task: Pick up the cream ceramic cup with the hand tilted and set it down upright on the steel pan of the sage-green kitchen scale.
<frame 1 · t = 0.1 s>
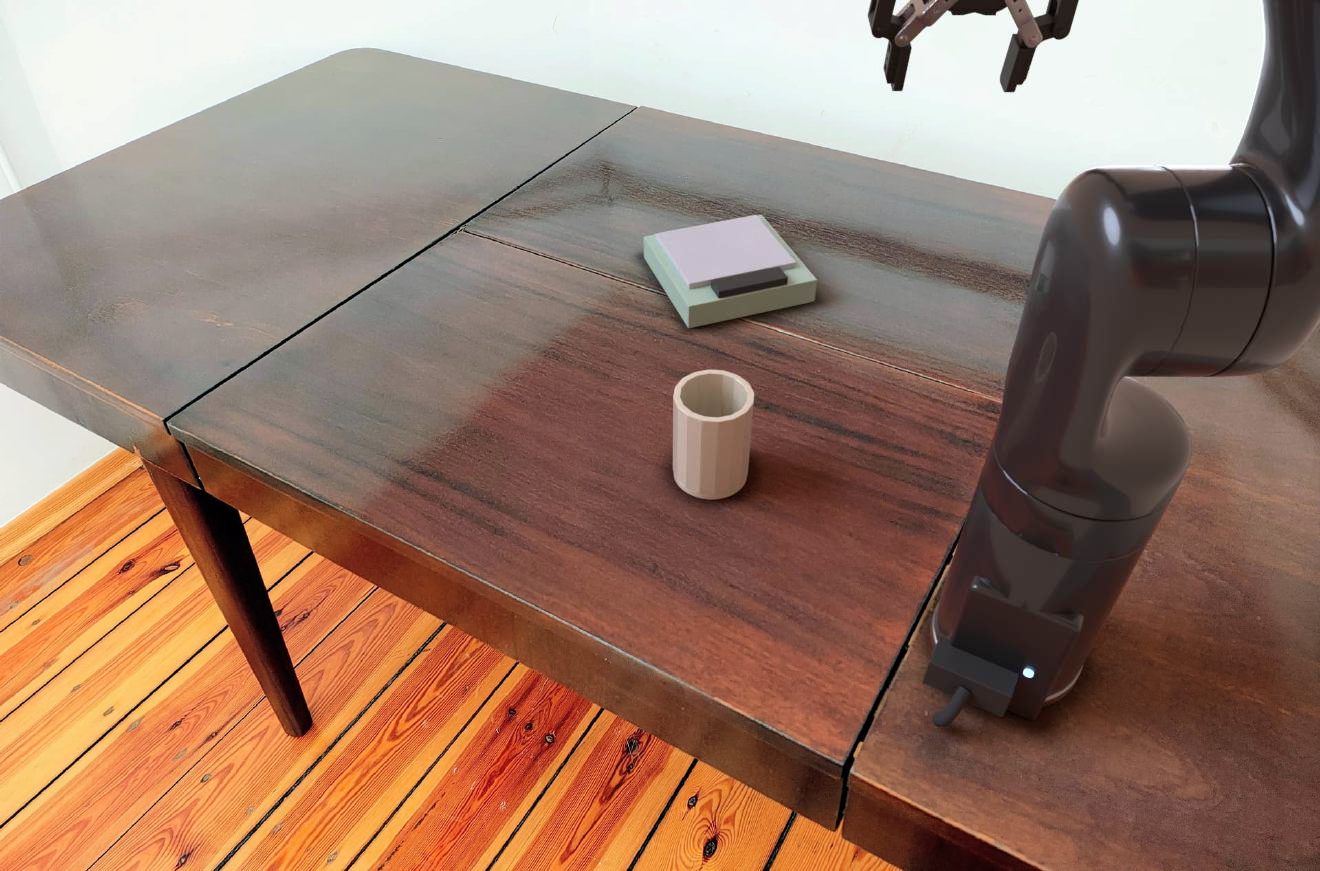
hand: (951, 86, 72), 22 cm above the table, tool pointing down, fingers open, 8 cm apart
scale: (726, 279, 93), on the table
cup: (710, 472, 73), on the table
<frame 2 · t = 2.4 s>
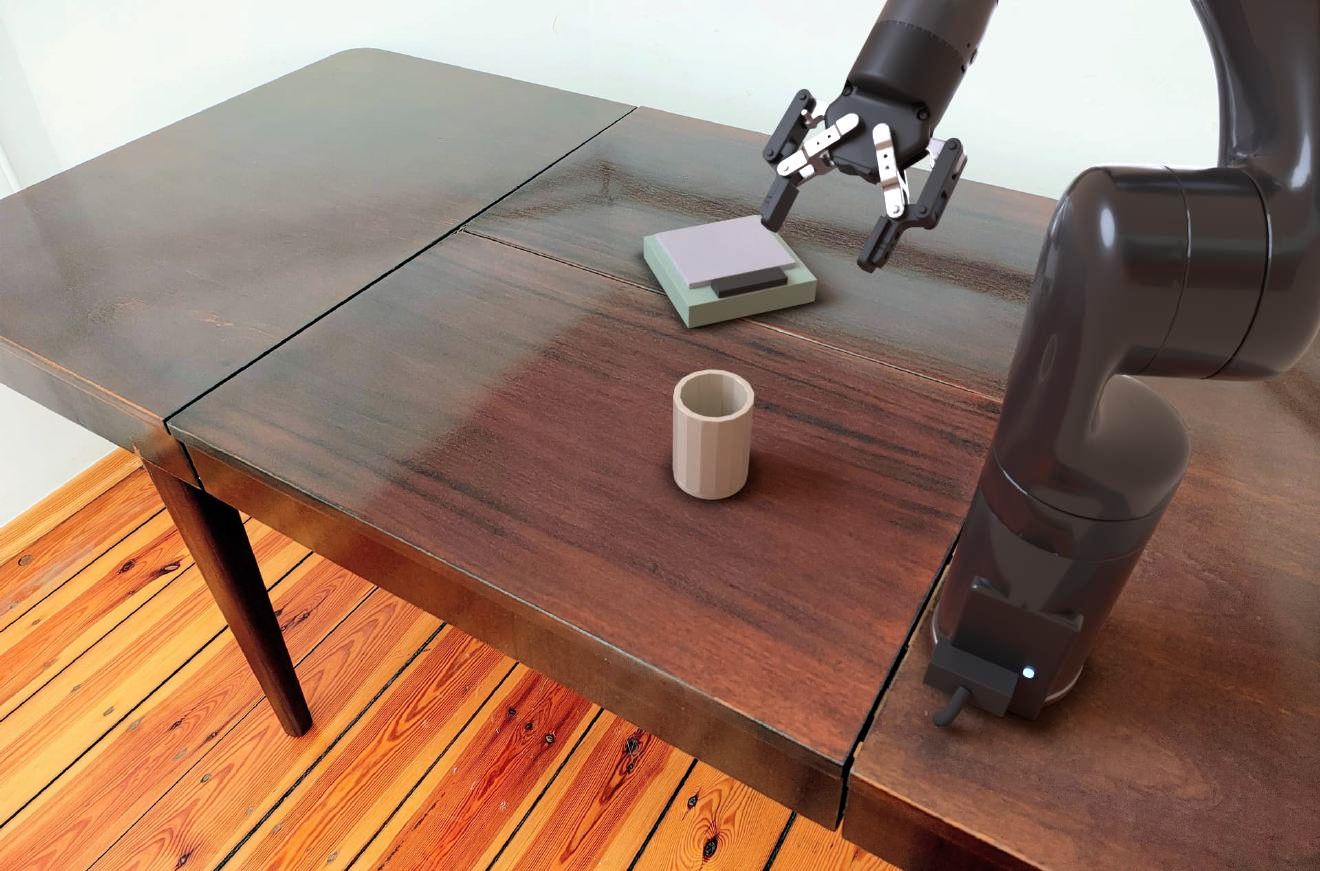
hand: (814, 248, 69), 15 cm above the table, tool tilted 45°, fingers open, 8 cm apart
nothing on the table moved.
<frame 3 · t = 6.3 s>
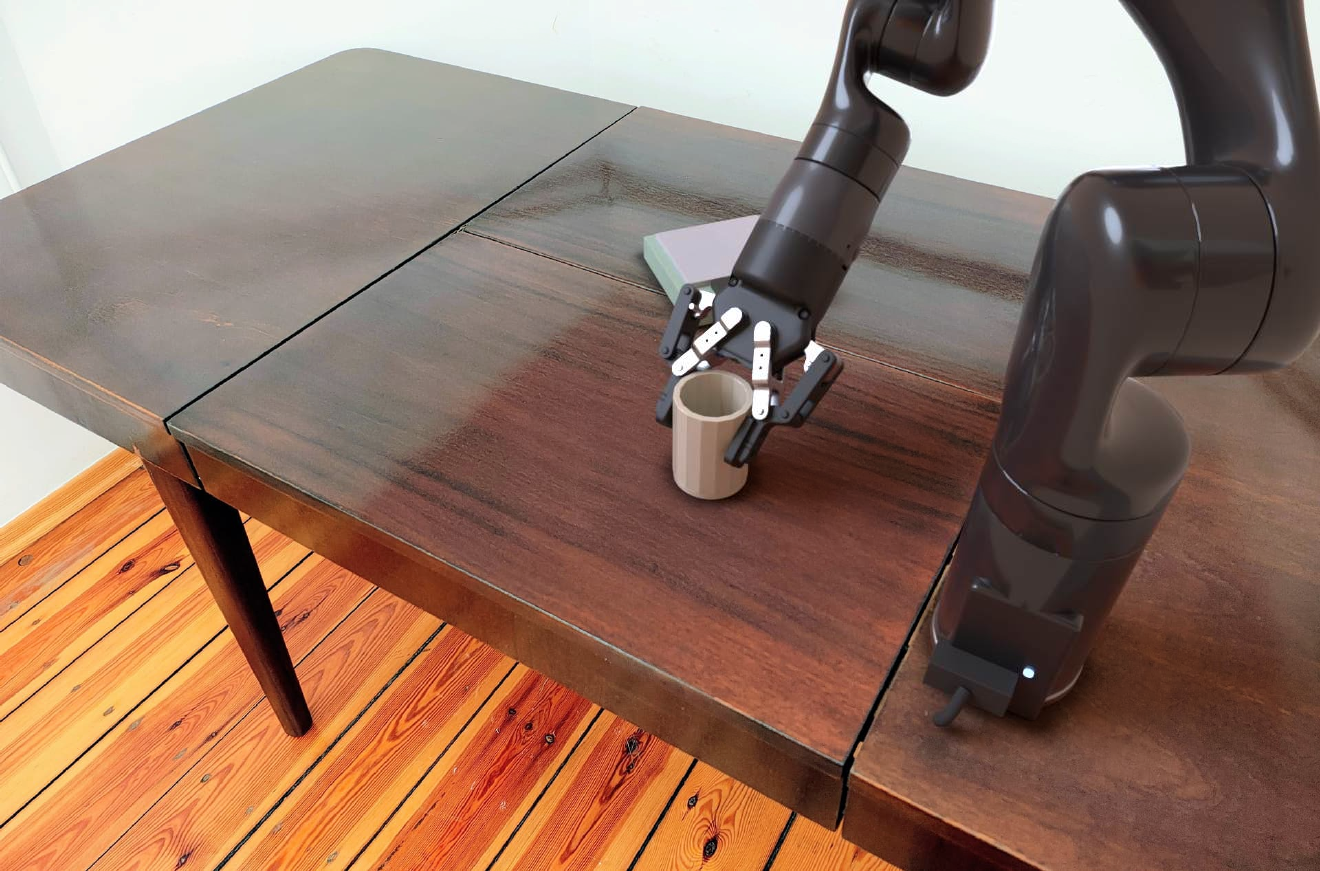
hand: (697, 444, 69), 4 cm above the table, tool tilted 45°, fingers closed on cup, 6 cm apart
cup: (710, 472, 73), on the table, touching gripper
everything else where it was.
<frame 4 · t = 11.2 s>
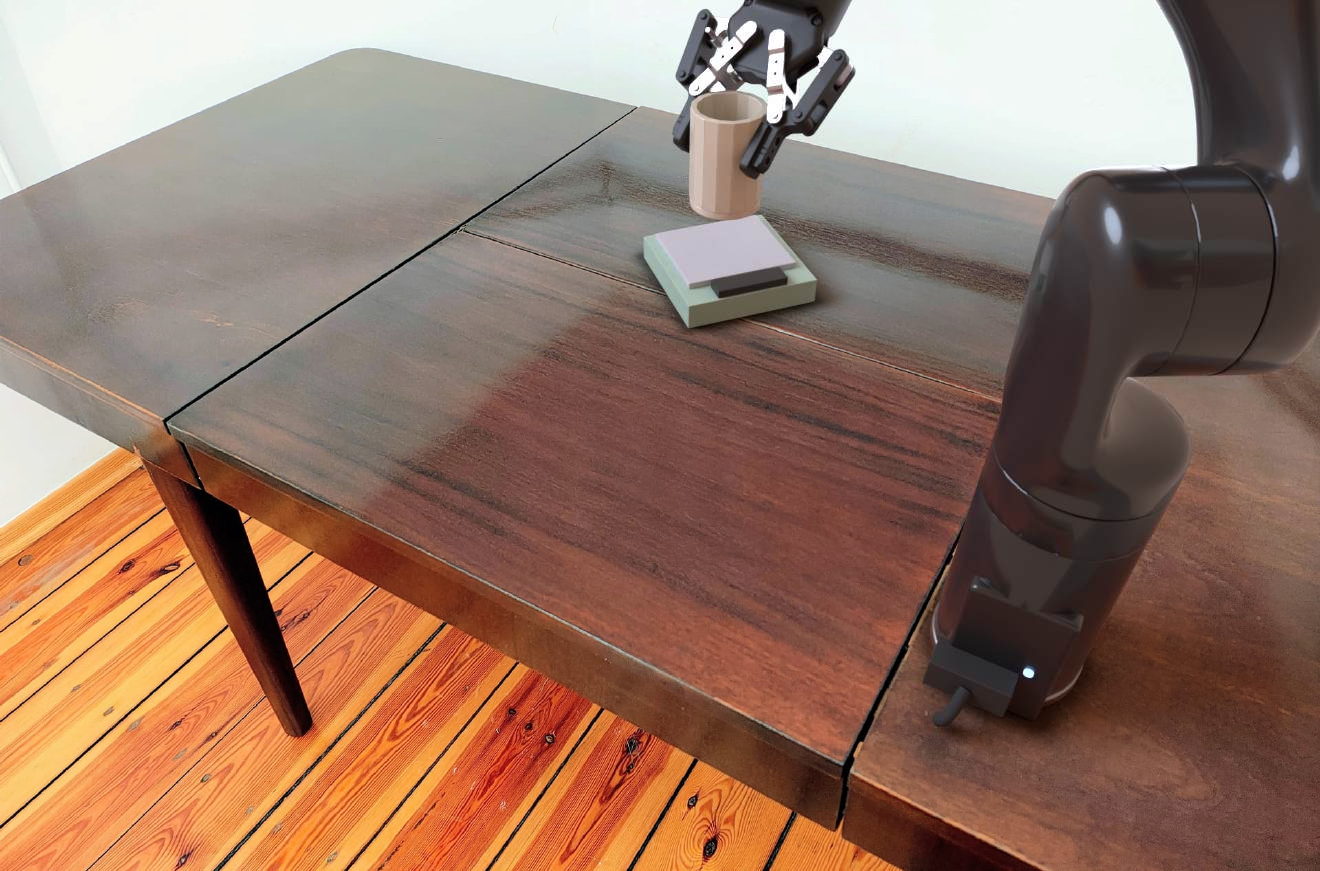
hand: (713, 160, 72), 18 cm above the table, tool tilted 45°, fingers closed on cup, 6 cm apart
cup: (725, 202, 75), point 14 cm above the table, touching gripper
everything else where it was.
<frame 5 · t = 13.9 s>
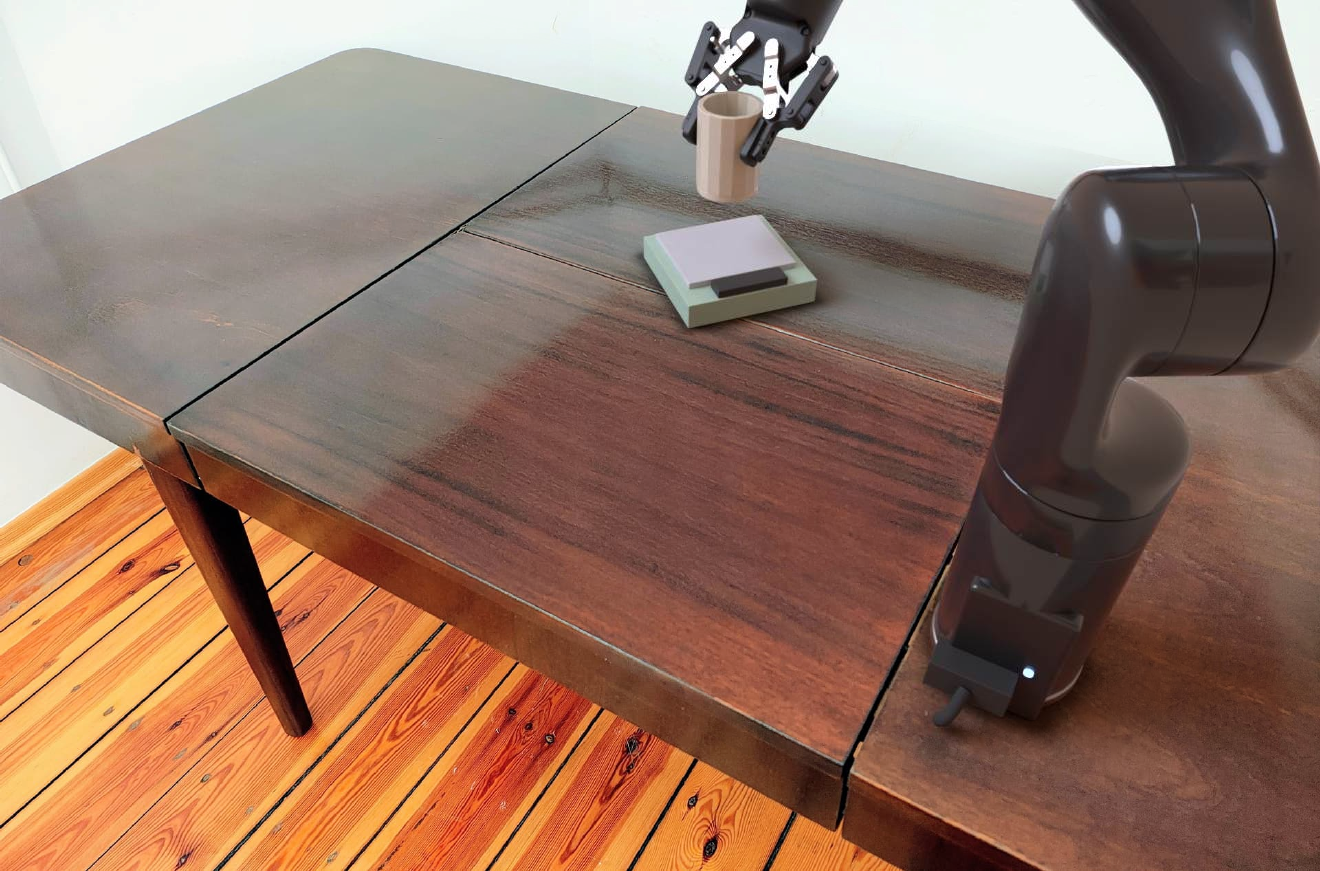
hand: (717, 151, 83), 14 cm above the table, tool tilted 45°, fingers closed on cup, 6 cm apart
cup: (727, 187, 87), point 9 cm above the table, touching gripper
everything else where it was.
when the fingers open (7 cm above the table, at t = 16.2 s): cup stays where it is, resting on scale.
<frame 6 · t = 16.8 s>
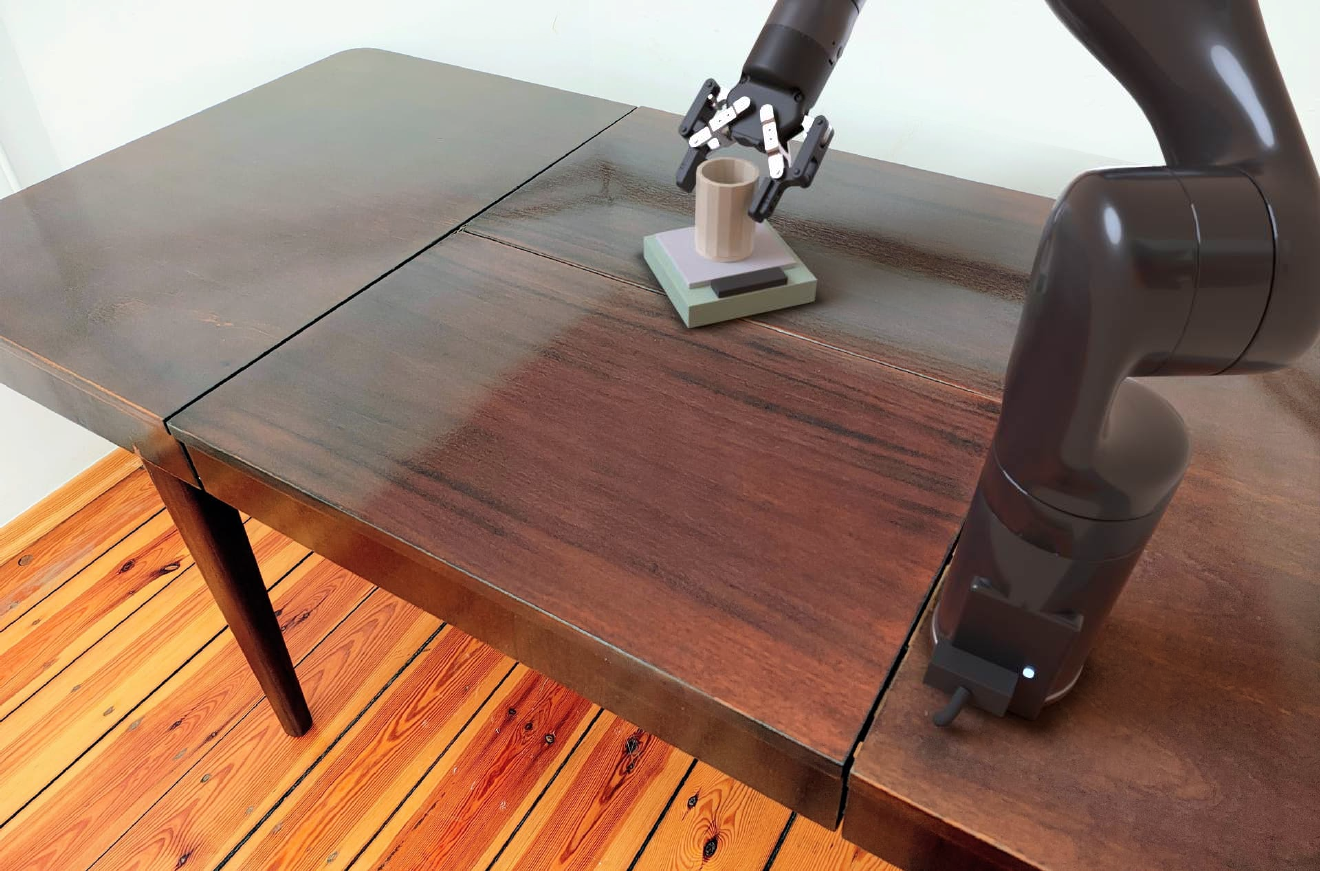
hand: (717, 204, 87), 8 cm above the table, tool tilted 45°, fingers open, 8 cm apart
cup: (724, 246, 91), point 3 cm above the table, touching scale
everything else where it was.
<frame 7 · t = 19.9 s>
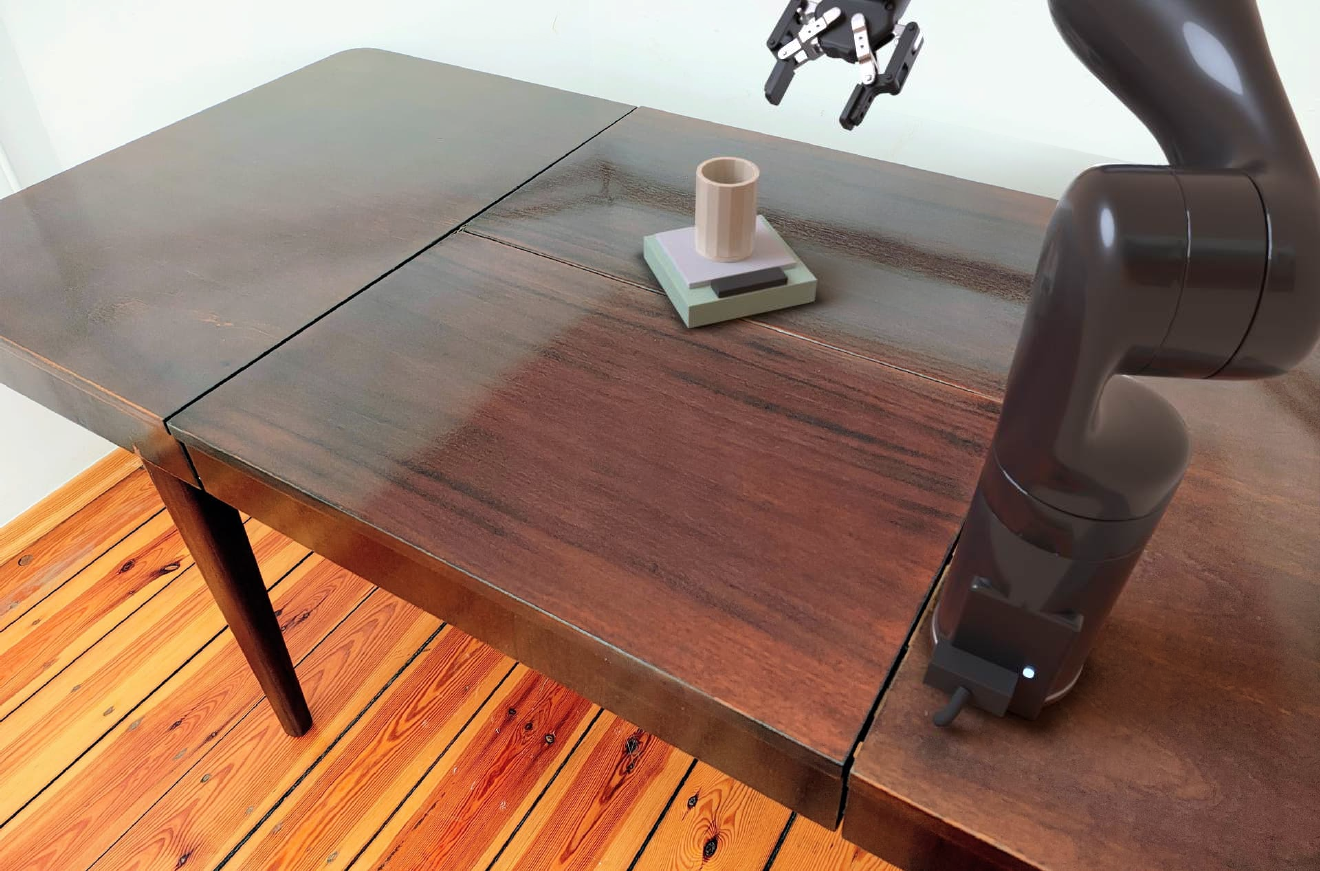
hand: (806, 113, 89), 14 cm above the table, tool tilted 45°, fingers open, 8 cm apart
nothing on the table moved.
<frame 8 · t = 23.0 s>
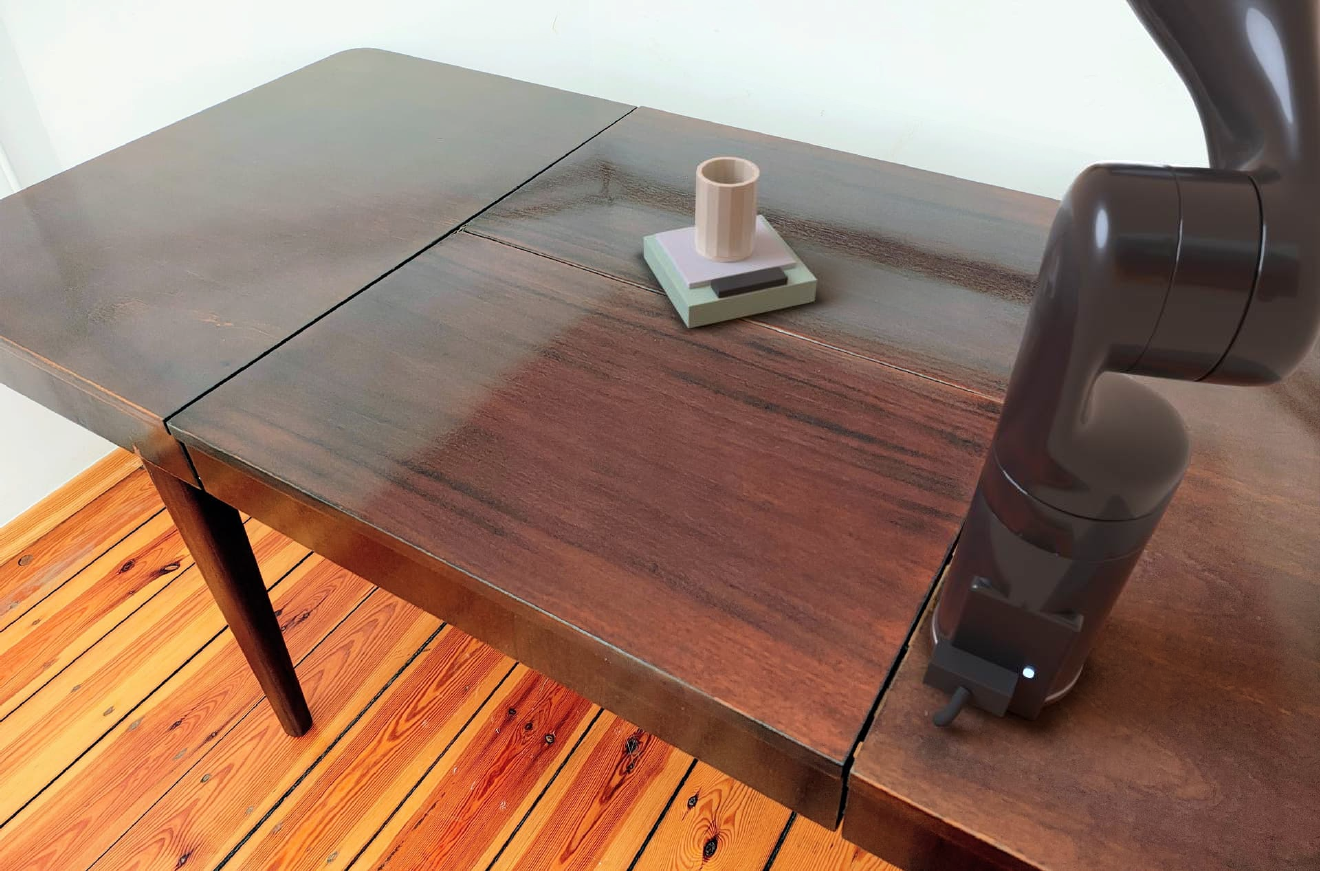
nothing on the table moved.
at the end: cup inside the target area on the scale (0.1 cm from its centre), point 3.1 cm above the scale's base; cup tilted 0°; the gripper is holding nothing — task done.
